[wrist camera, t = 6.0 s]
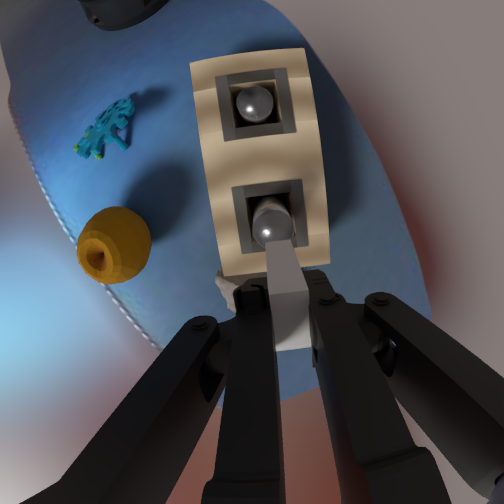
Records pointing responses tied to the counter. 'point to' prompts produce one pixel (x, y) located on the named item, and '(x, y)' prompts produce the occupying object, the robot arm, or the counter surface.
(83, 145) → the teal knobby branched piece
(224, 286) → the stone
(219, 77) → the socket block
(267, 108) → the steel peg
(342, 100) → the counter surface
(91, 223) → the apple
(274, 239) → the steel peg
